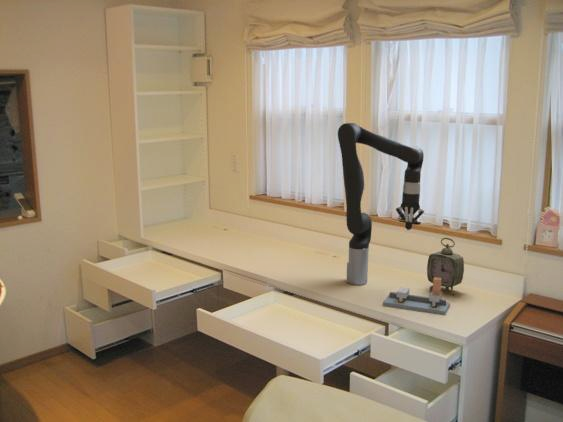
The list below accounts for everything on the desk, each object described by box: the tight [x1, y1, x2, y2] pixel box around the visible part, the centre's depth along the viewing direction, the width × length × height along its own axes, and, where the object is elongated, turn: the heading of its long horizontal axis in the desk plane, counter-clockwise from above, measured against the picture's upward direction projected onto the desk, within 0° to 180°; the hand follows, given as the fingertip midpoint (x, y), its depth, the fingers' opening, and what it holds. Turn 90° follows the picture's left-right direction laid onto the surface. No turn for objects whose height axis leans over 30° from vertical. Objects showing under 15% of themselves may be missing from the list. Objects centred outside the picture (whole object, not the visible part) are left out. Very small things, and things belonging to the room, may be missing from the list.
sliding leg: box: [429, 277, 443, 307], centre depth 260 cm, size 4×8×10 cm, turn 156°
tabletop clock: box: [426, 237, 465, 296], centre depth 281 cm, size 14×9×25 cm, turn 45°
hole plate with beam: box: [382, 286, 451, 316], centre depth 264 cm, size 26×12×6 cm, turn 66°
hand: (408, 229), depth 280 cm, fingers closed
